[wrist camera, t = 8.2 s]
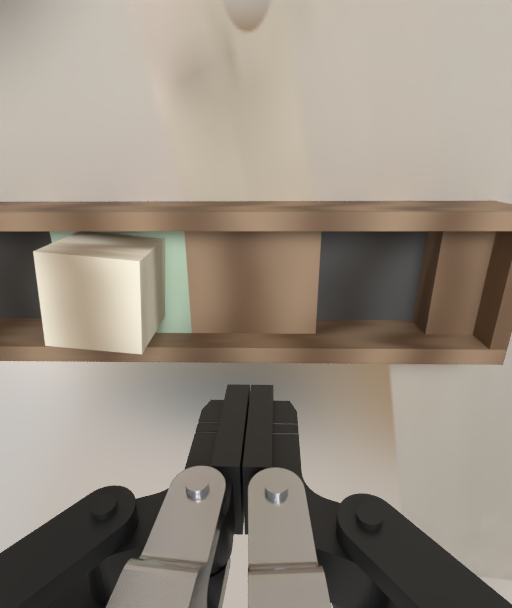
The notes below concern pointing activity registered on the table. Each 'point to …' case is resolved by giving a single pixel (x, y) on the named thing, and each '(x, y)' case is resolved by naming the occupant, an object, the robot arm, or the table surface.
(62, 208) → the tray
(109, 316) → the cream cube
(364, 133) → the table surface
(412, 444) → the table surface
